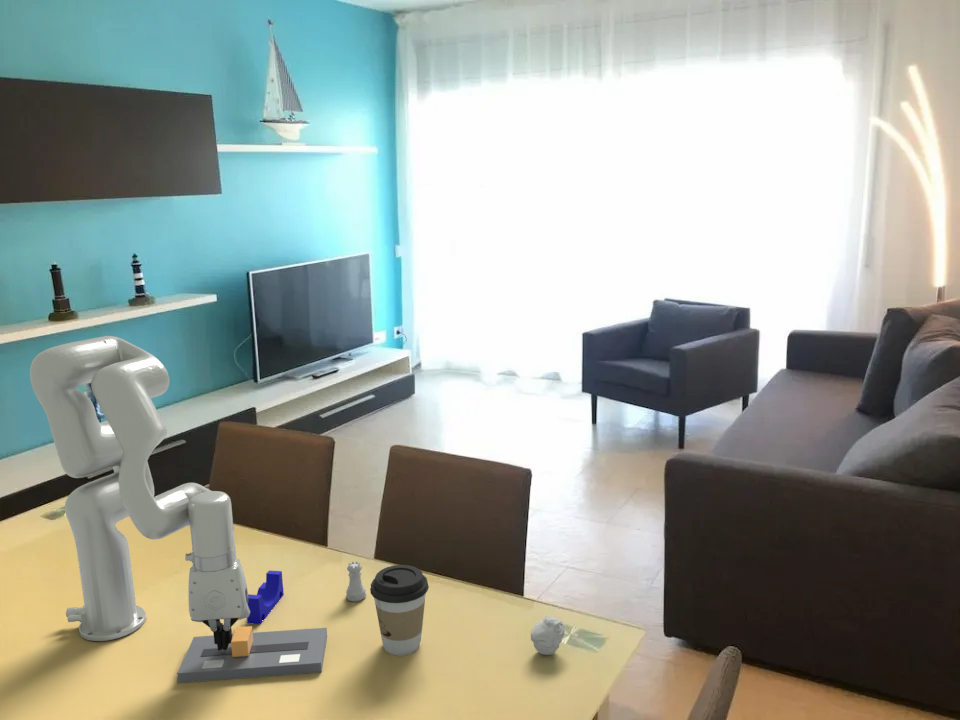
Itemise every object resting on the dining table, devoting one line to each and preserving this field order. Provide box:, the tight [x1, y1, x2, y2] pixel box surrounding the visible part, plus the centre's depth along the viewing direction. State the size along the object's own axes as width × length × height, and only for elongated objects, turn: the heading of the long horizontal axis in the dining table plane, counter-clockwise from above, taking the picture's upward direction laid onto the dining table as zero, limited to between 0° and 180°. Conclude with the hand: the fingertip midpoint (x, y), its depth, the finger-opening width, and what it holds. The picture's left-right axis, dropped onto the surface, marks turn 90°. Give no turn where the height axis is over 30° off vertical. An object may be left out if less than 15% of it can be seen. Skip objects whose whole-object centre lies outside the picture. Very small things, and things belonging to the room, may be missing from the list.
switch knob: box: [231, 626, 254, 657], centre depth 150 cm, size 3×5×3 cm, turn 6°
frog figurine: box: [530, 615, 566, 656], centre depth 151 cm, size 6×7×7 cm
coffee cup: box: [369, 564, 430, 657], centre depth 153 cm, size 11×11×15 cm
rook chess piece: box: [345, 560, 367, 603], centre depth 173 cm, size 4×4×8 cm
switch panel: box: [176, 627, 328, 684], centre depth 151 cm, size 26×12×2 cm, turn 96°
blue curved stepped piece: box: [246, 570, 285, 625], centre depth 169 cm, size 12×4×6 cm, turn 171°
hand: (224, 646), depth 150 cm, fingers closed
